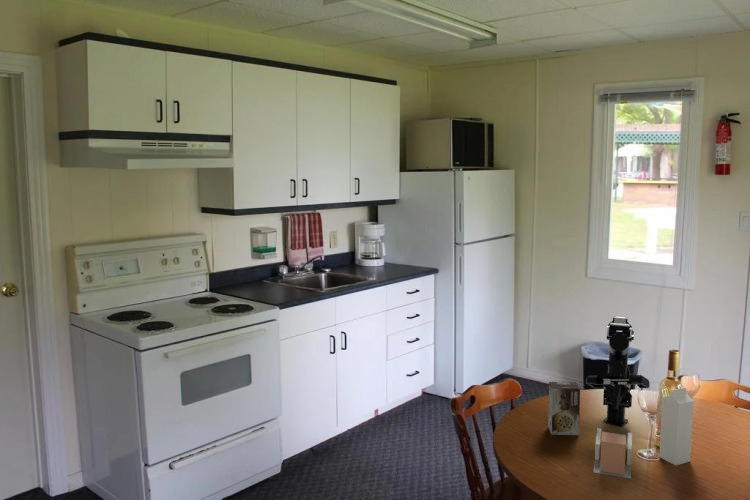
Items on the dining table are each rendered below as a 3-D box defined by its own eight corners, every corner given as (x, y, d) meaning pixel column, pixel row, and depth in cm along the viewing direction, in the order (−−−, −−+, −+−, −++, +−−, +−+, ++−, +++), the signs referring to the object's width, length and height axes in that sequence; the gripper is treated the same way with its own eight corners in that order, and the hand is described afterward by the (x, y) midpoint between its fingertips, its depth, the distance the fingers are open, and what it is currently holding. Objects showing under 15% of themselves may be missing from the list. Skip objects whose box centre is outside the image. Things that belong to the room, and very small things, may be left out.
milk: (690, 462, 186) (695, 390, 183) (675, 466, 183) (680, 393, 180) (673, 453, 191) (677, 384, 188) (658, 457, 189) (663, 387, 186)
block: (601, 460, 187) (602, 431, 186) (624, 464, 184) (625, 435, 183) (600, 470, 180) (601, 441, 179) (624, 474, 178) (625, 444, 177)
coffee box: (575, 427, 210) (576, 381, 208) (579, 435, 204) (581, 388, 202) (547, 426, 211) (548, 380, 209) (550, 435, 205) (552, 387, 203)
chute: (596, 443, 199) (597, 428, 198) (631, 448, 195) (631, 433, 194) (593, 472, 180) (593, 456, 179) (631, 478, 176) (631, 462, 175)
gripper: (657, 367, 201) (656, 415, 195) (603, 368, 214) (600, 414, 208) (642, 356, 194) (640, 406, 188) (586, 358, 208) (583, 405, 202)
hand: (615, 408), depth 197 cm, fingers closed
